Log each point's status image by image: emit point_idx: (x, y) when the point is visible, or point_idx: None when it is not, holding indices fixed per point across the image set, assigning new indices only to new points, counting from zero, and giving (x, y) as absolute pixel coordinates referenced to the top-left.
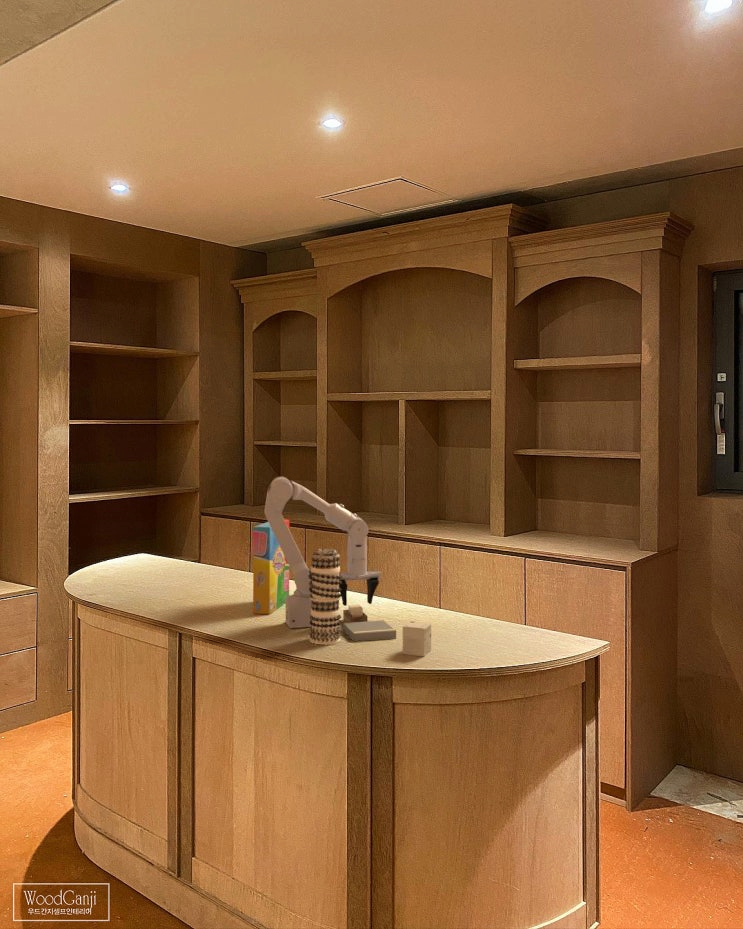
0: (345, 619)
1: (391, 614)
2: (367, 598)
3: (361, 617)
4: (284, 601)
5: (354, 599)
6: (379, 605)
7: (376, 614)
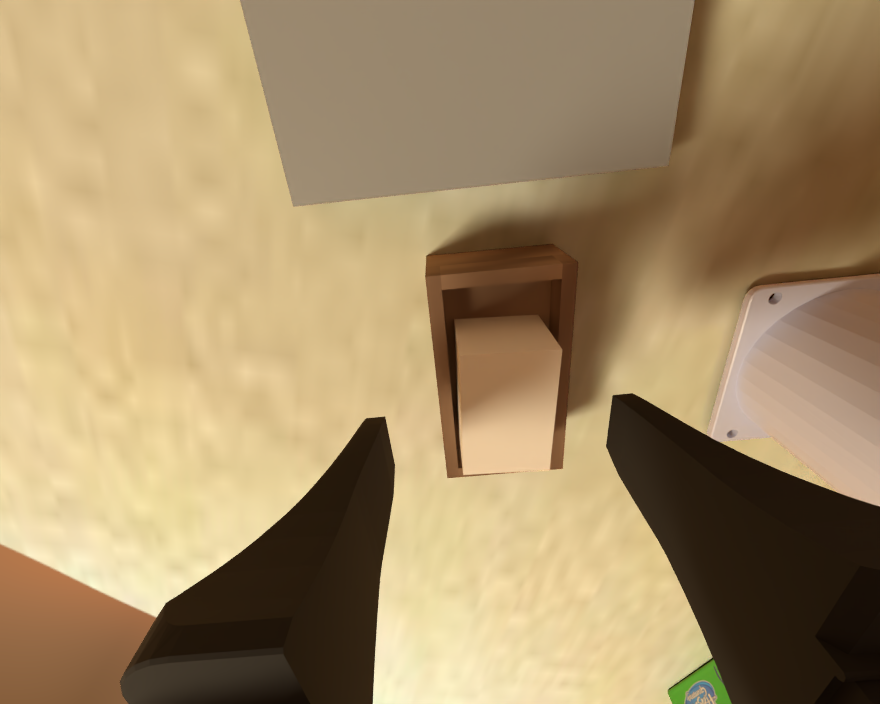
0: None
1: (246, 483)
2: (391, 494)
3: (479, 270)
4: (714, 672)
5: (407, 681)
6: None
7: None
